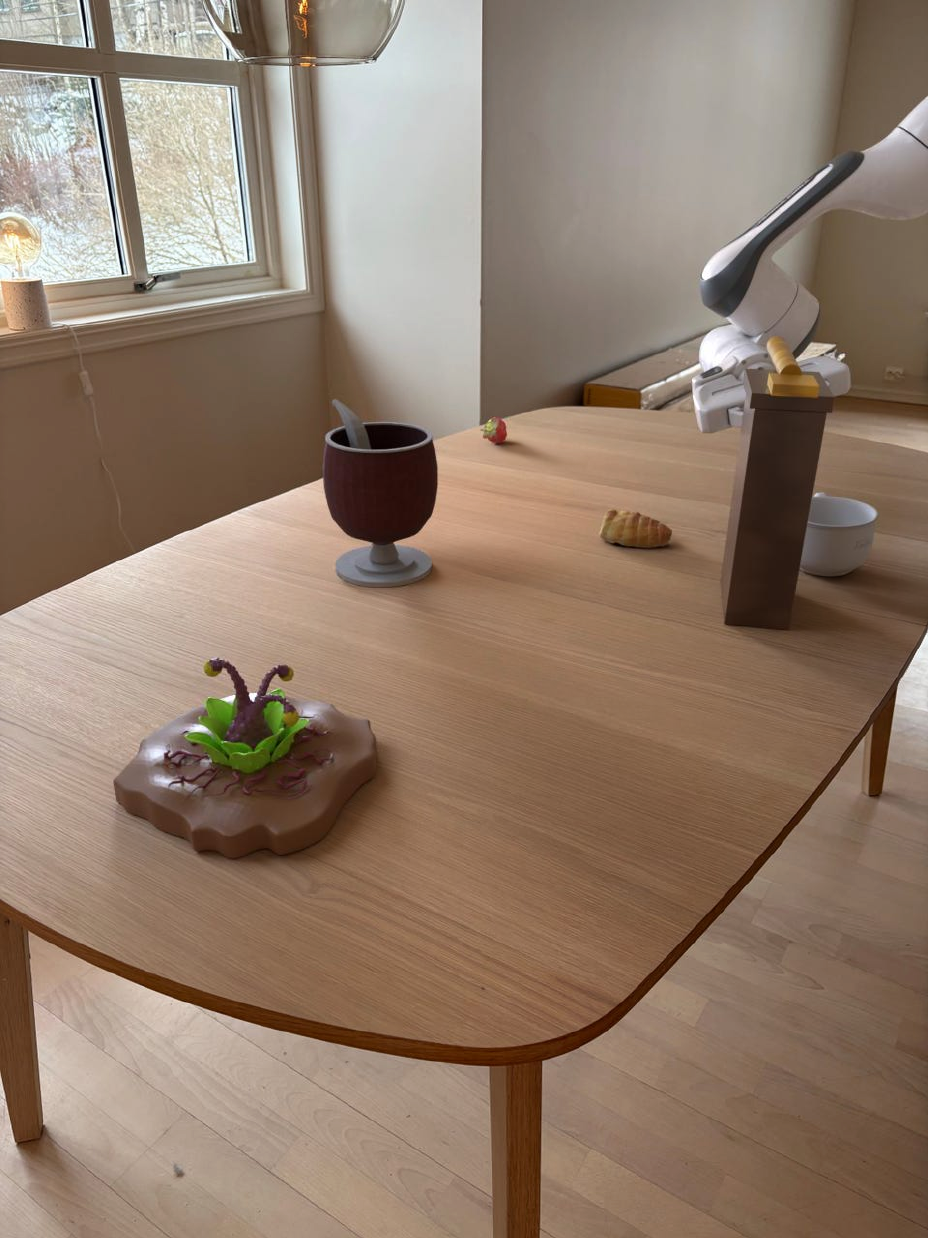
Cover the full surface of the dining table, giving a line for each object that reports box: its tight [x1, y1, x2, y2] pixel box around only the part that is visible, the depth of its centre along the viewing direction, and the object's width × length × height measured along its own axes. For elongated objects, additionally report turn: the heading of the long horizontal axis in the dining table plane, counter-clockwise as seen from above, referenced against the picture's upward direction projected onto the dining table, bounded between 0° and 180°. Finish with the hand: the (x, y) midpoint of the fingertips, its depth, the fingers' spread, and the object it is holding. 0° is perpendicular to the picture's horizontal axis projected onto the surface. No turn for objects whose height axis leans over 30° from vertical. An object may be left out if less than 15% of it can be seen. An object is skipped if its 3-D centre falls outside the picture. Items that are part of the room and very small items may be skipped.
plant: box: [113, 657, 378, 859], centre depth 78 cm, size 20×20×11 cm
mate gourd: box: [322, 398, 439, 588], centre depth 117 cm, size 16×14×20 cm
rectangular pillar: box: [720, 369, 836, 631], centre depth 106 cm, size 8×12×26 cm, turn 168°
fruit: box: [479, 416, 508, 444], centre depth 171 cm, size 4×6×5 cm
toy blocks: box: [767, 336, 819, 398], centre depth 103 cm, size 4×22×2 cm, turn 168°
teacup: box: [799, 492, 879, 577], centre depth 121 cm, size 14×11×8 cm
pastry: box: [598, 508, 673, 549], centre depth 129 cm, size 9×7×4 cm
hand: (790, 413), depth 121 cm, fingers open, 8 cm apart
